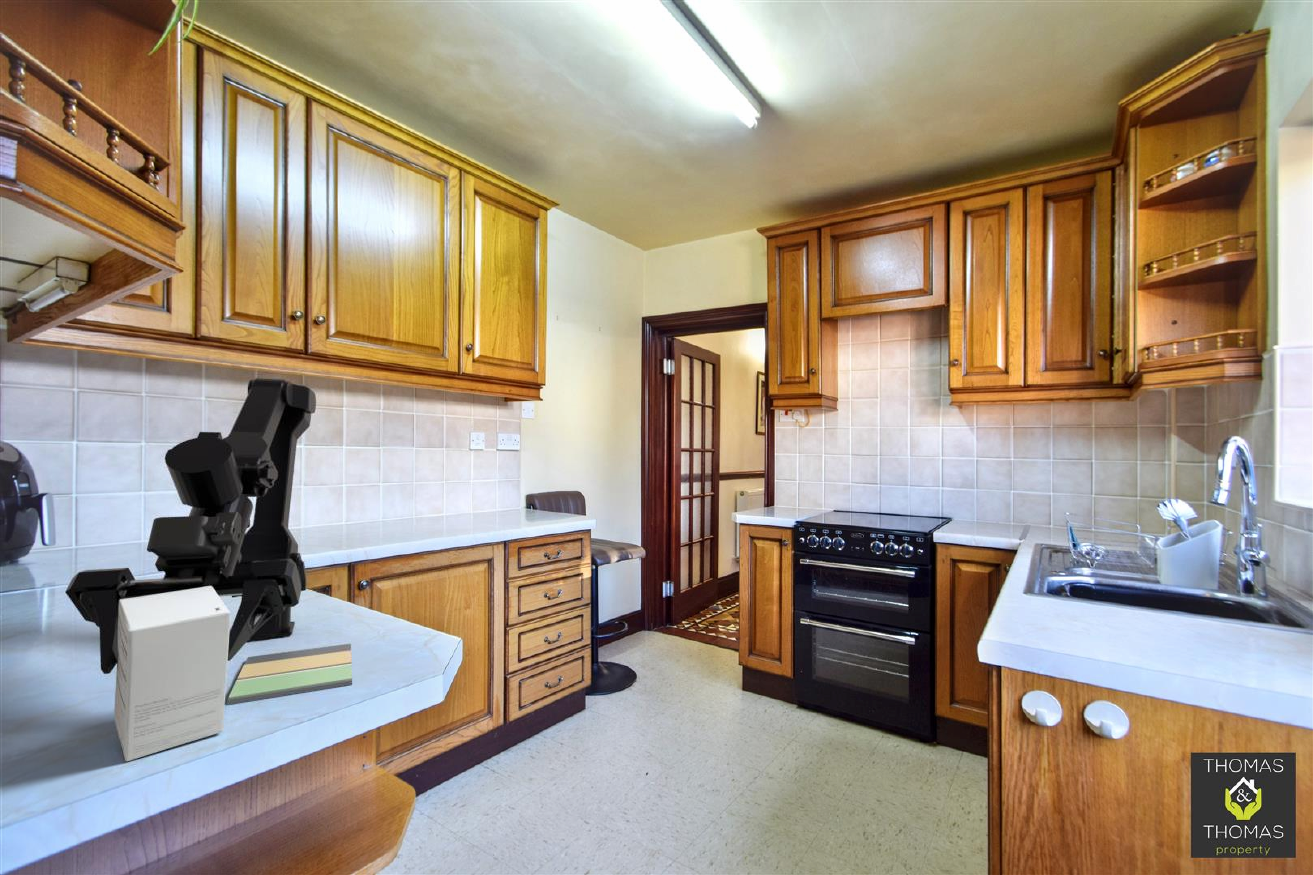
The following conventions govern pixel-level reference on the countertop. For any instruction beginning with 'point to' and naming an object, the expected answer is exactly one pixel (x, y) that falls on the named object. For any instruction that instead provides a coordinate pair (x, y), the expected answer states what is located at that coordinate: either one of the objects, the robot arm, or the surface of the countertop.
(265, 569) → the robot arm
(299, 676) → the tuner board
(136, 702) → the supplement box
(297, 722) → the countertop surface
